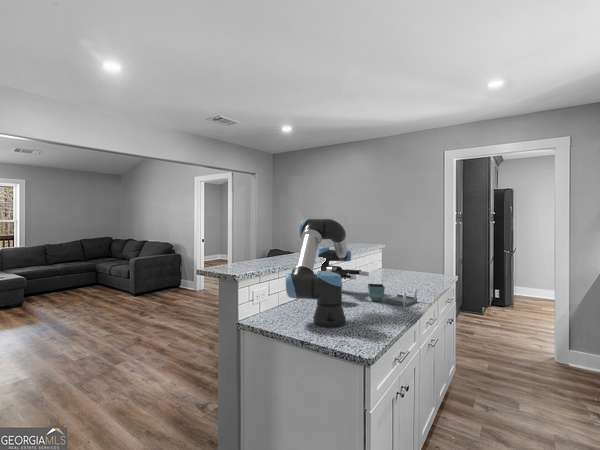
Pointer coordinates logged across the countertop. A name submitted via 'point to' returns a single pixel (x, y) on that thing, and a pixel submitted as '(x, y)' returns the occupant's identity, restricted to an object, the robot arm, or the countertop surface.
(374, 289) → the flower pot
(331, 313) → the robot arm
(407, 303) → the tray
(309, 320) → the countertop surface
